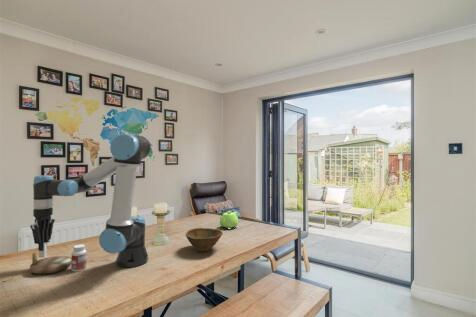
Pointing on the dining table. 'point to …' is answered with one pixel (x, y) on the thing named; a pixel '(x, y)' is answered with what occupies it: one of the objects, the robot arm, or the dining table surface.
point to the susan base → (52, 272)
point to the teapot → (229, 219)
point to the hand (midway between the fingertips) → (42, 256)
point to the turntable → (49, 264)
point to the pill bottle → (78, 258)
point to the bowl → (203, 238)
